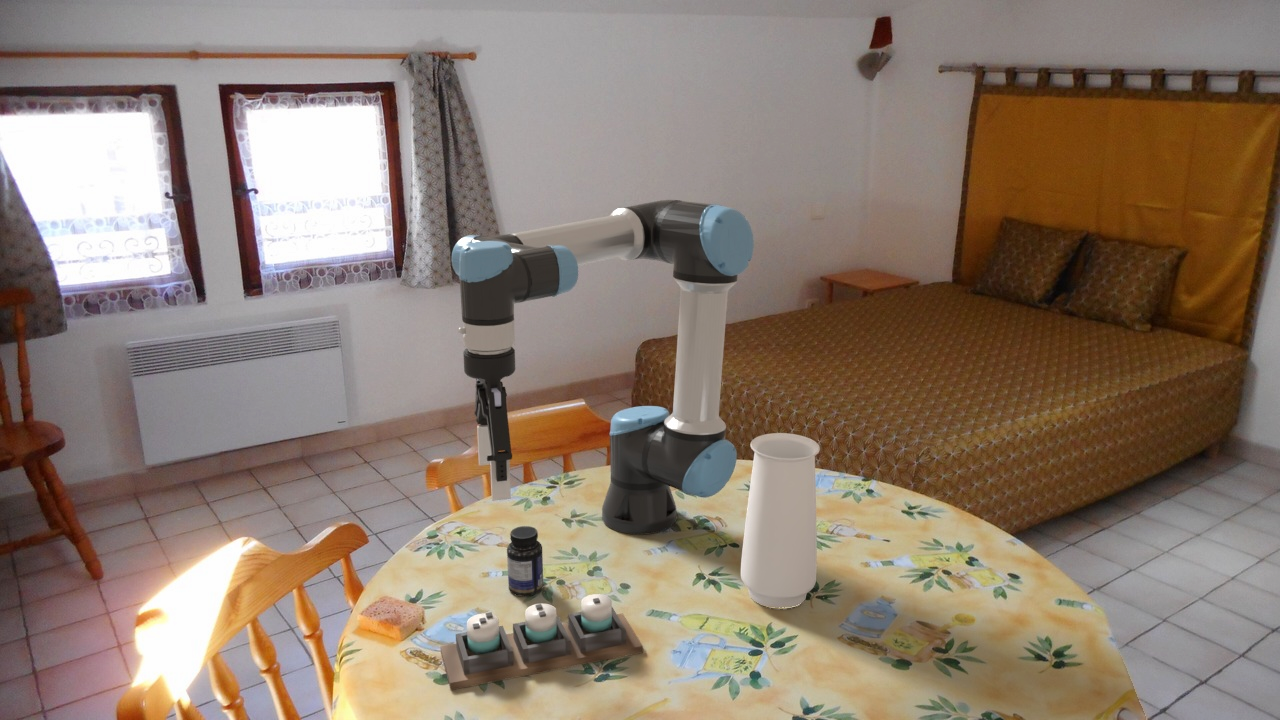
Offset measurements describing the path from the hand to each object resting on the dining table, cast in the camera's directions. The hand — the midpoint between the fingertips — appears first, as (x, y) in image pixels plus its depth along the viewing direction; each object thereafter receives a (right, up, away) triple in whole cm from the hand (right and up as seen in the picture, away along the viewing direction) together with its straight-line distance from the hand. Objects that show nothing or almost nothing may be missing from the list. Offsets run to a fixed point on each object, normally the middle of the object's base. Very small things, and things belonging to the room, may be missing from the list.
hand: (494, 480), depth 150 cm
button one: (+16, -23, +5) cm, 29 cm away
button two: (+7, -24, +2) cm, 25 cm away
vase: (+46, -23, +21) cm, 55 cm away
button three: (-1, -25, 0) cm, 25 cm away
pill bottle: (+2, -22, +22) cm, 31 cm away
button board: (+7, -27, +3) cm, 28 cm away
